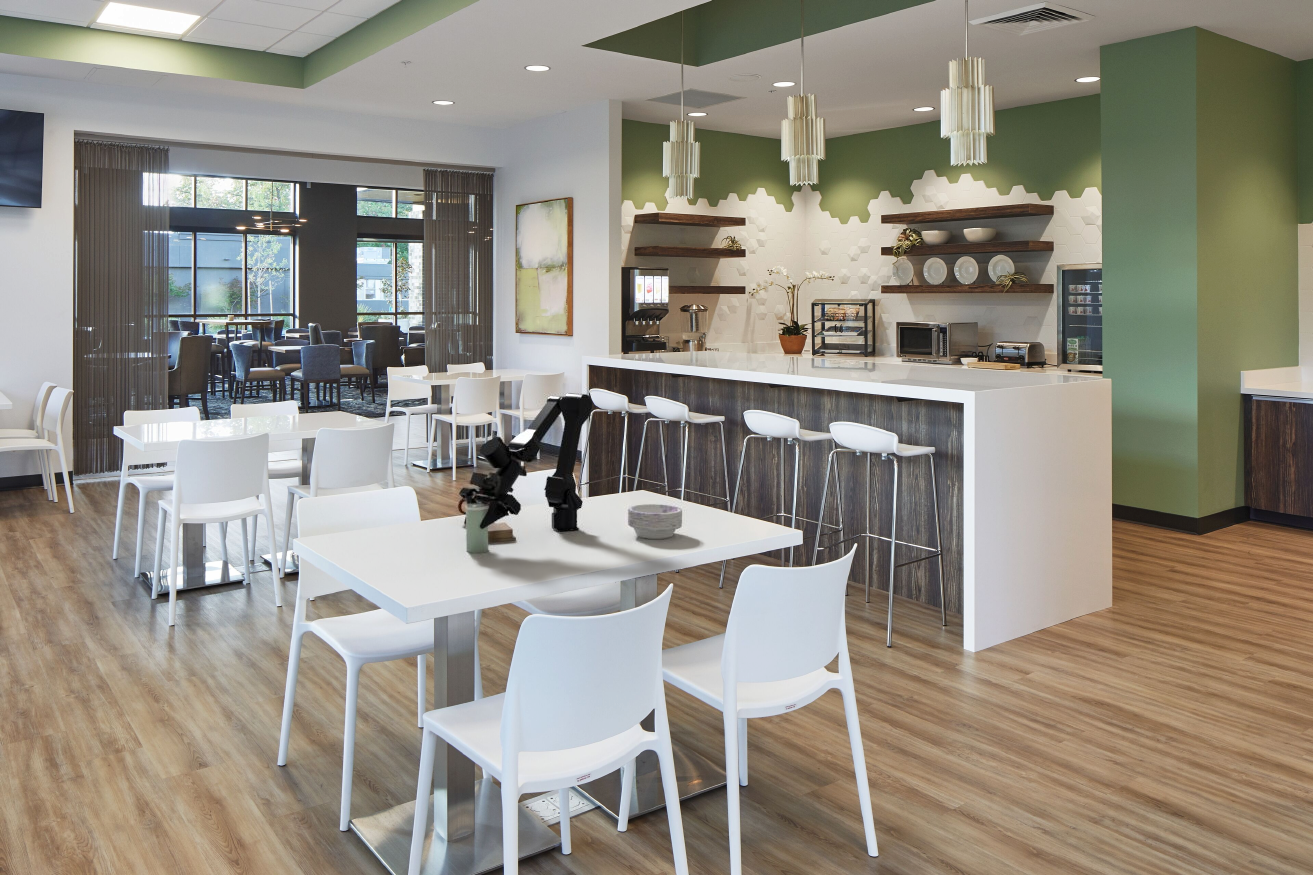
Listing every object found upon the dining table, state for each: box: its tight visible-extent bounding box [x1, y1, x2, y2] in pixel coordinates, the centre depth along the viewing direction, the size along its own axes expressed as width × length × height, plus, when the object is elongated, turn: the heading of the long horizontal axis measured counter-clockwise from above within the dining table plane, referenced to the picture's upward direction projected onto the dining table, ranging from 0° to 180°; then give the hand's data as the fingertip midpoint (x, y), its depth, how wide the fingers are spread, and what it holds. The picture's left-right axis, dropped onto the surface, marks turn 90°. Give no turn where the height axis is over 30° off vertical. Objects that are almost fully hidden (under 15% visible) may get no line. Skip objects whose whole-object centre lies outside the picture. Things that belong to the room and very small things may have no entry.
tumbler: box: [464, 503, 489, 554], centre depth 259 cm, size 6×6×12 cm
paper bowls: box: [627, 503, 683, 540], centre depth 278 cm, size 15×15×8 cm
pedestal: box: [488, 522, 517, 544], centre depth 275 cm, size 10×10×3 cm
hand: (473, 526), depth 258 cm, fingers closed on tumbler, 6 cm apart
